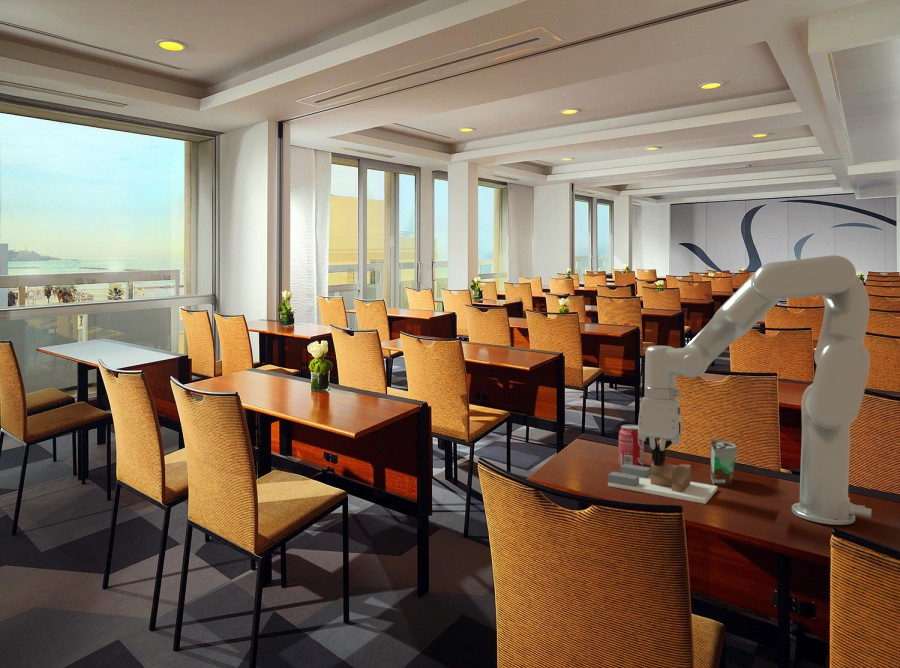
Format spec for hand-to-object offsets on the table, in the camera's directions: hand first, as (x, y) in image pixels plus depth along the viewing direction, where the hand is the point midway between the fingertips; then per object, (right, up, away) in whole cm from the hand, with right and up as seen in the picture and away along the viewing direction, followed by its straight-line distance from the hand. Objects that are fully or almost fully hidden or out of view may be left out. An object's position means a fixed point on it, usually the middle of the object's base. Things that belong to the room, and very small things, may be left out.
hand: (658, 464), depth 155 cm
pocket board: (+1, -6, 0) cm, 6 cm away
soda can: (-1, -5, +19) cm, 20 cm away
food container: (+20, -6, +5) cm, 21 cm away
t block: (+2, -5, -1) cm, 6 cm away
